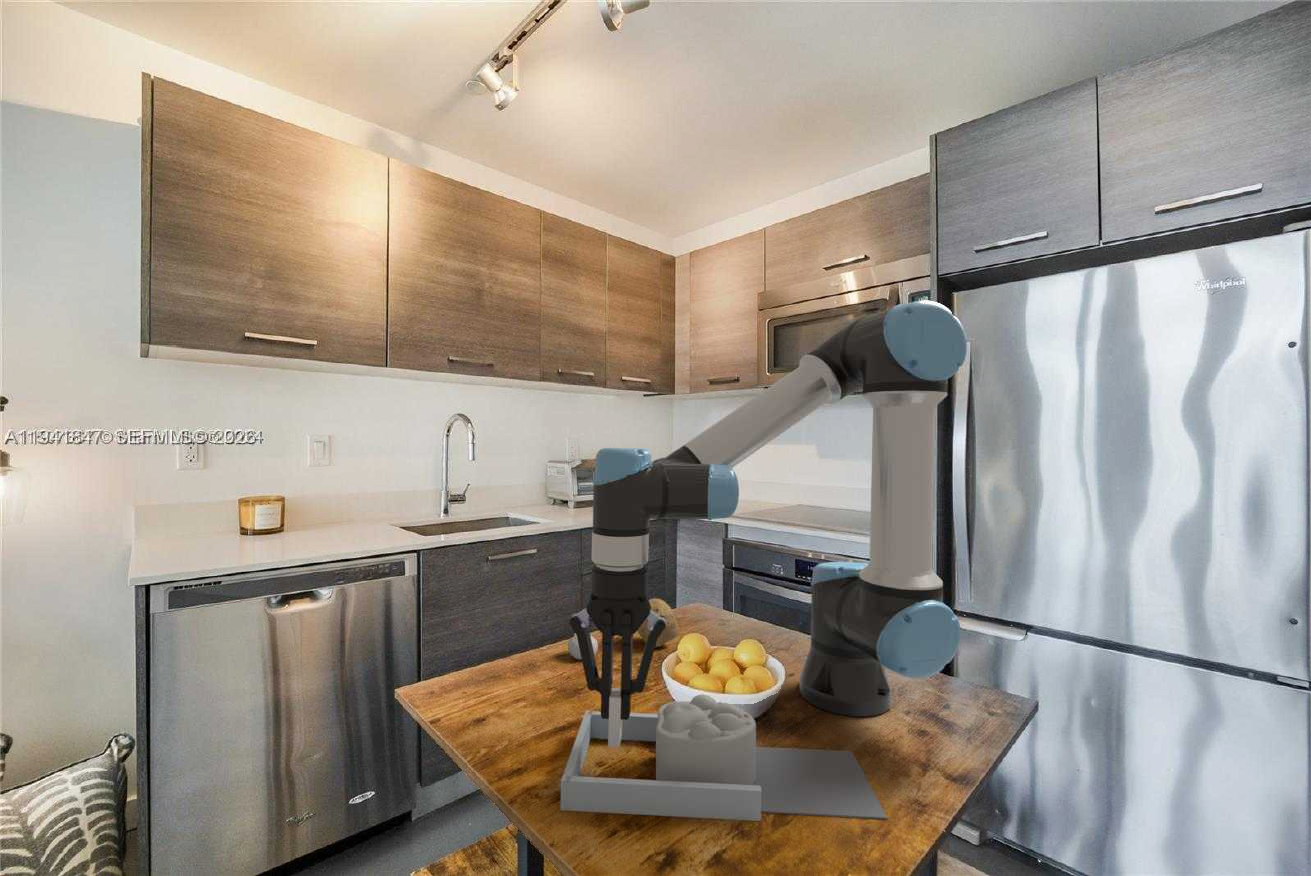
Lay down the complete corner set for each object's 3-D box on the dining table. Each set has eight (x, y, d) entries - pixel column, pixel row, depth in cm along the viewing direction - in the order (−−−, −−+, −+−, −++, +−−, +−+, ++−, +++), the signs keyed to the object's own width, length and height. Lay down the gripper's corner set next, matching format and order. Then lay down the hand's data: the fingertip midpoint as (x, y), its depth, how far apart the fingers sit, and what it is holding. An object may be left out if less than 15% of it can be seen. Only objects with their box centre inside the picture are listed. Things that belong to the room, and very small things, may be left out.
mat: (851, 752, 80) (851, 751, 80) (887, 819, 66) (887, 817, 66) (731, 746, 81) (731, 745, 81) (742, 811, 67) (742, 809, 67)
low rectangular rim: (744, 741, 83) (745, 718, 83) (760, 820, 66) (761, 790, 66) (585, 734, 84) (585, 710, 84) (560, 810, 67) (561, 780, 67)
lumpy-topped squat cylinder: (658, 750, 80) (658, 689, 80) (750, 753, 79) (751, 691, 79) (654, 797, 70) (654, 727, 70) (761, 800, 69) (761, 729, 69)
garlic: (565, 663, 110) (565, 636, 110) (569, 652, 115) (569, 627, 115) (596, 663, 110) (596, 637, 110) (598, 653, 115) (599, 627, 115)
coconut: (627, 641, 122) (628, 594, 122) (664, 636, 126) (665, 591, 126) (643, 656, 114) (644, 607, 114) (682, 650, 117) (683, 602, 117)
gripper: (669, 560, 78) (664, 729, 78) (576, 556, 79) (571, 725, 79) (668, 573, 71) (663, 760, 71) (565, 568, 71) (560, 755, 72)
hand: (614, 741), depth 75 cm, fingers closed
